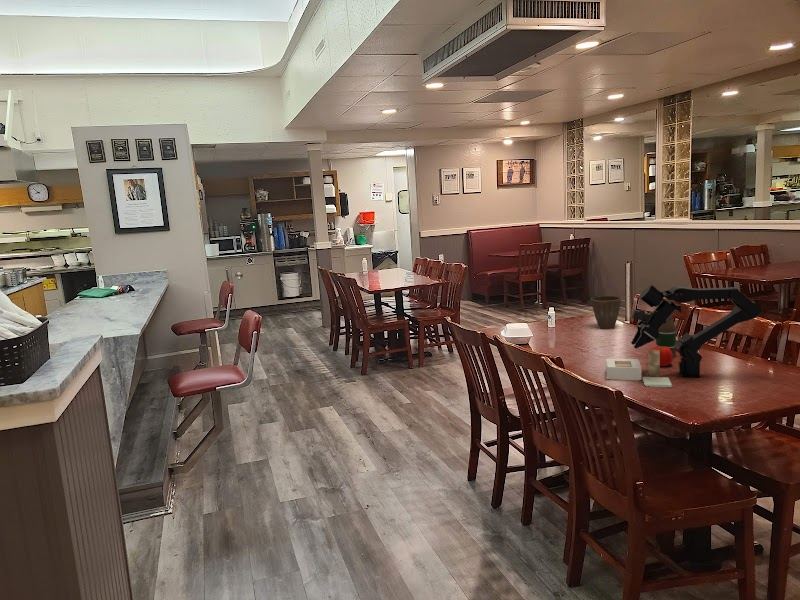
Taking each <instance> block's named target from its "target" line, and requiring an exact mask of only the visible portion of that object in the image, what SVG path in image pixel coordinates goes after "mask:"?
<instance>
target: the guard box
mask: <svg viewBox="0 0 800 600" xmlns="http://www.w3.org/2000/svg"><path fill="white" fill-rule="evenodd" d="M616 364H630V365H616ZM605 372H606V377H607V379H617V380H616V381H639V380H641V381H642V366H641V363H640V360H639V359H638V358H605ZM618 379H619V380H618ZM620 379H621V380H620Z"/></svg>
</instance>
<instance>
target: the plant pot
mask: <svg viewBox="0 0 800 600" xmlns="http://www.w3.org/2000/svg"><path fill="white" fill-rule="evenodd" d="M590 300H591V301H590V302H591V305H592V309H593V310H592V311H593V313H594V317H595V321H596V323H597V325H598V328H599V329H600V330H611V329H614V328H615V326H616V324H617V320H618V318H619V314H620V308H621V301H622V298H621V297H620V296H616V295H615V296H613V295H605V296H604V295H602V296H595V297H591V298H590Z"/></svg>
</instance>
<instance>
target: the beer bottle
mask: <svg viewBox="0 0 800 600" xmlns="http://www.w3.org/2000/svg"><path fill="white" fill-rule="evenodd" d="M666 301H667V302H668V301H669V300H666ZM666 319H667V318H666ZM658 330H659V331H658V332H659V333H660V336H659V338H658V339H657V340H656V339H655V346H659V347H660V348H661V346H662V347H664V346H666V347H668V348H670V350H671V351H672V354H673V358H674V356H675V357H676V355H677V351H676V350H675V347H674V346H675V342H676V341H677V327H676V324H675V322H674V321H673V319H672V315H671V316H670V317H669V318H668V319H667V320H666V323H665V324H663V325H662V326H661V327H660V328H659V329H658Z"/></svg>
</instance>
